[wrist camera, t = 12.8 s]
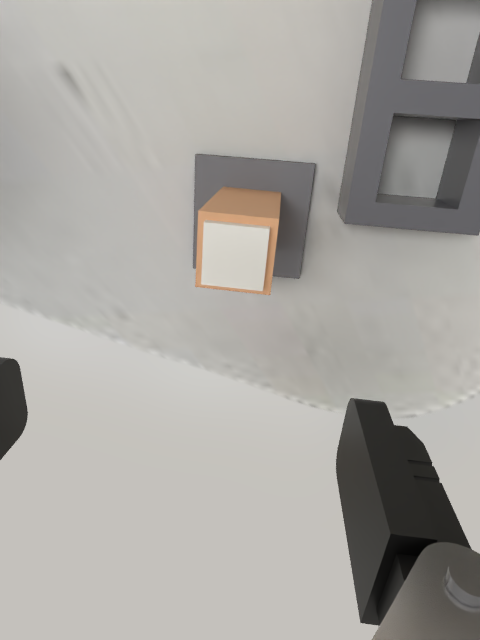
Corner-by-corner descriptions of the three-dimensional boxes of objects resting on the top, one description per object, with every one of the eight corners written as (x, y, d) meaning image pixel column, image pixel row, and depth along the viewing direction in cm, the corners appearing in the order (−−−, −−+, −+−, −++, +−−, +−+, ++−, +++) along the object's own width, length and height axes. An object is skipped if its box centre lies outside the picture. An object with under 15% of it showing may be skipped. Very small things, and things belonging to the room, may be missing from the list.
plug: (219, 243, 30) (193, 290, 22) (223, 186, 29) (195, 213, 20) (274, 249, 30) (269, 299, 21) (281, 192, 28) (279, 221, 20)
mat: (194, 265, 32) (193, 268, 31) (197, 153, 28) (195, 154, 28) (299, 276, 31) (299, 278, 31) (314, 163, 28) (315, 164, 27)
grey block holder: (337, 211, 29) (344, 223, 25) (379, -45, 23) (397, -76, 19) (454, 221, 29) (478, 235, 25) (528, -37, 23) (575, -68, 19)
